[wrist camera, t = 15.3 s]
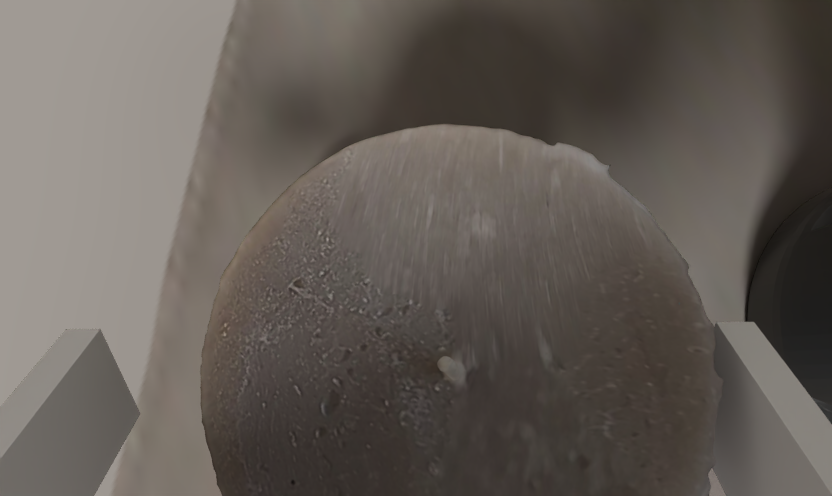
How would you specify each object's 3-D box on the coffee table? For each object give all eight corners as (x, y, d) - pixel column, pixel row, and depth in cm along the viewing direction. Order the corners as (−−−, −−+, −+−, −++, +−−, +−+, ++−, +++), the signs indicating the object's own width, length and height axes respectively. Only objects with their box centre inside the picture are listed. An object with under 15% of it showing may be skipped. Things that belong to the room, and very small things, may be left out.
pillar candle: (292, 412, 23) (38, 527, 8) (391, 211, 24) (326, 3, 10) (501, 518, 22) (641, 869, 7) (591, 301, 23) (860, 224, 9)
